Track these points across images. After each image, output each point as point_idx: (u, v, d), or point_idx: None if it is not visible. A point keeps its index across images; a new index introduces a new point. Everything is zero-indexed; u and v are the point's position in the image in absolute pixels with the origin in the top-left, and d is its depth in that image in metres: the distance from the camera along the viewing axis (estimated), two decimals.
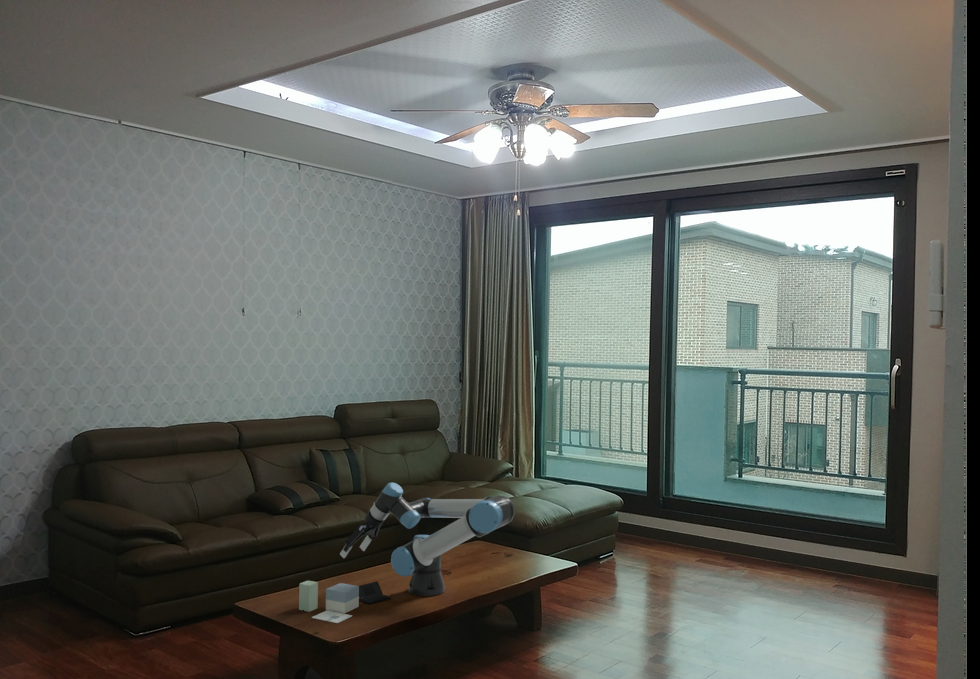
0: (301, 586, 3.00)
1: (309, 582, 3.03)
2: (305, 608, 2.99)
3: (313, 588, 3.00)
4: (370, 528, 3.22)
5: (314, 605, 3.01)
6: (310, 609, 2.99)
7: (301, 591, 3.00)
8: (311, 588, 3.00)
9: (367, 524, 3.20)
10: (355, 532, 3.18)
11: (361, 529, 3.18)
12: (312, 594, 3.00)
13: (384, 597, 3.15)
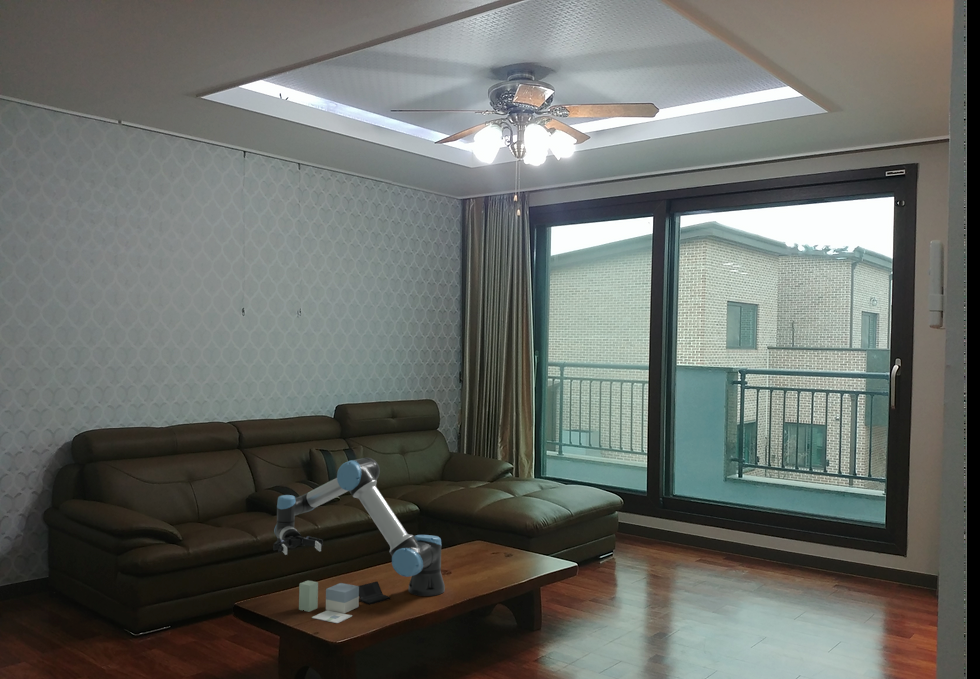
0: (301, 586, 3.00)
1: (309, 582, 3.03)
2: (305, 608, 2.99)
3: (313, 588, 3.00)
4: None
5: (314, 605, 3.01)
6: (310, 609, 2.99)
7: (301, 591, 3.00)
8: (311, 588, 3.00)
9: (284, 539, 3.24)
10: None
11: None
12: (312, 594, 3.00)
13: (384, 597, 3.15)
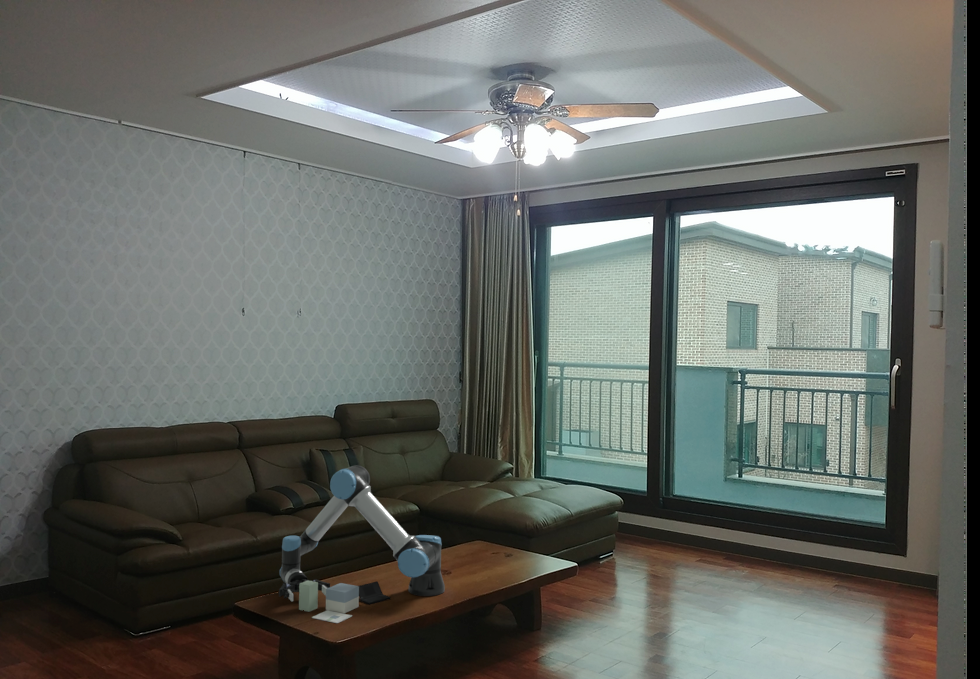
0: (301, 586, 3.00)
1: (309, 582, 3.03)
2: (305, 608, 2.99)
3: (312, 588, 3.00)
4: None
5: (314, 605, 3.01)
6: (310, 609, 2.99)
7: (301, 591, 3.00)
8: (311, 588, 3.00)
9: (289, 583, 3.13)
10: None
11: (283, 585, 3.10)
12: (312, 594, 3.00)
13: (384, 597, 3.15)
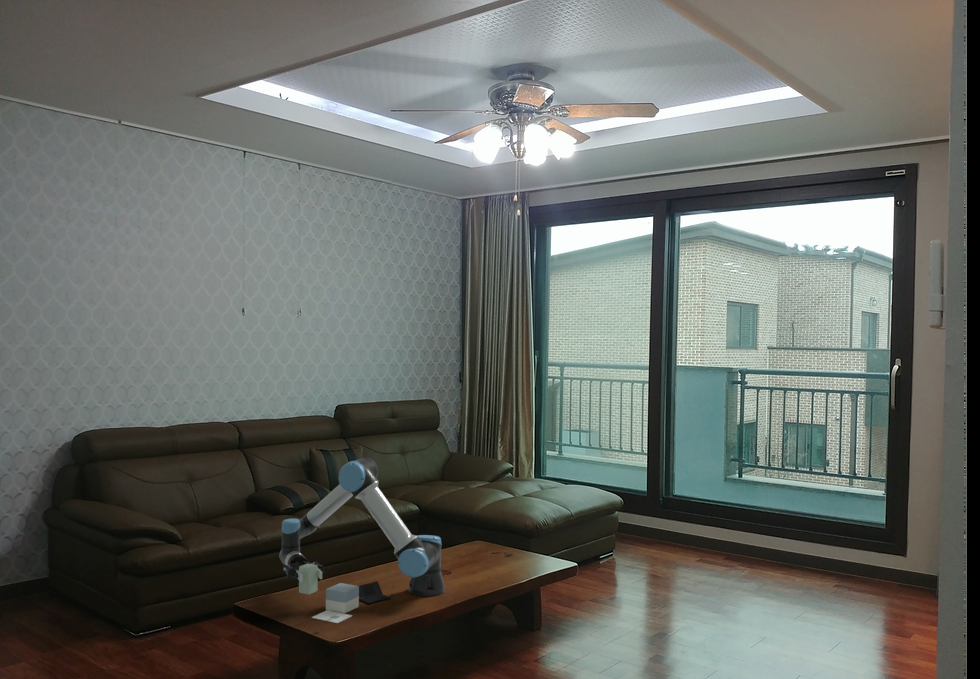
0: (301, 569, 3.00)
1: (309, 565, 3.03)
2: (305, 591, 2.99)
3: (312, 571, 3.00)
4: (296, 563, 3.12)
5: (314, 588, 3.01)
6: (310, 592, 2.99)
7: None
8: (311, 570, 3.00)
9: (288, 566, 3.12)
10: (286, 572, 3.06)
11: (284, 567, 3.09)
12: (311, 576, 3.00)
13: (384, 597, 3.15)
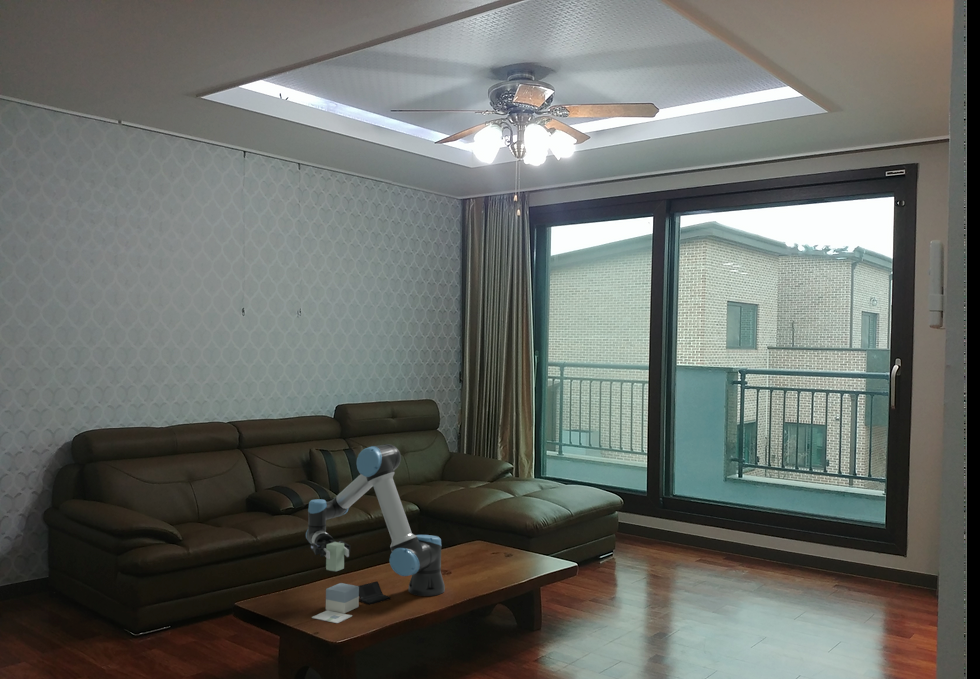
0: (328, 547, 3.09)
1: (336, 543, 3.12)
2: (332, 568, 3.08)
3: (339, 549, 3.10)
4: (323, 541, 3.21)
5: (341, 565, 3.10)
6: (337, 569, 3.08)
7: None
8: (338, 548, 3.09)
9: (315, 544, 3.21)
10: (313, 549, 3.16)
11: (311, 545, 3.18)
12: (338, 554, 3.09)
13: (384, 597, 3.15)
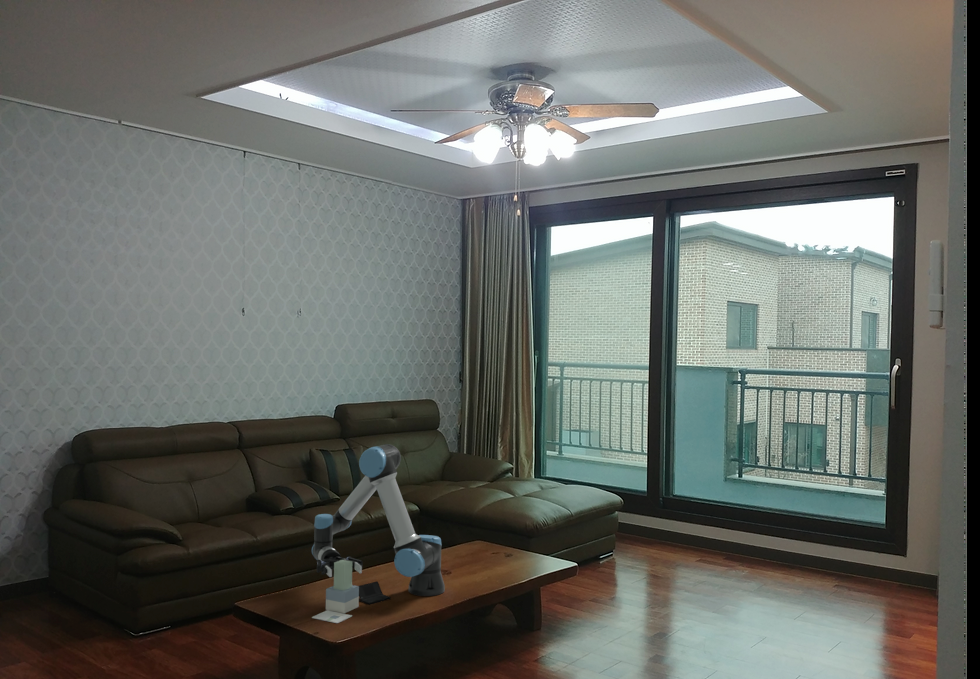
0: (336, 565, 3.01)
1: (343, 561, 3.04)
2: (340, 587, 3.00)
3: (347, 567, 3.02)
4: (330, 558, 3.13)
5: (349, 584, 3.02)
6: (345, 588, 3.00)
7: (335, 570, 3.02)
8: (346, 567, 3.01)
9: (323, 560, 3.14)
10: None
11: (317, 562, 3.11)
12: (346, 572, 3.01)
13: (384, 597, 3.15)
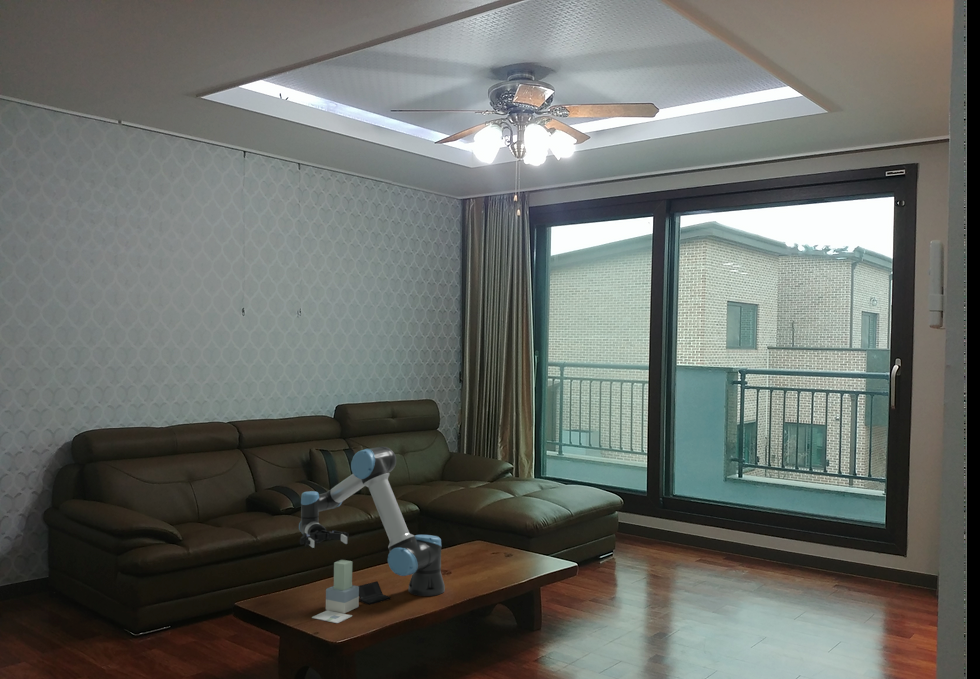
0: (336, 565, 3.01)
1: (343, 561, 3.04)
2: (340, 587, 3.00)
3: (347, 567, 3.02)
4: None
5: (349, 584, 3.02)
6: (345, 588, 3.00)
7: (335, 570, 3.02)
8: (346, 567, 3.01)
9: (309, 534, 3.27)
10: None
11: (303, 535, 3.24)
12: (346, 572, 3.01)
13: (384, 597, 3.15)
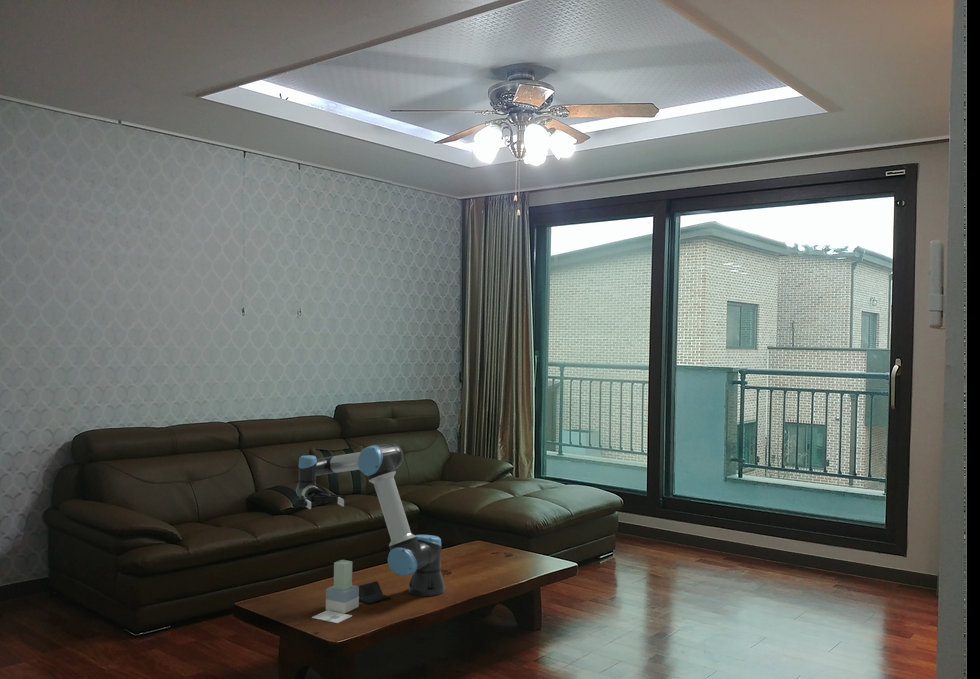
0: (336, 565, 3.01)
1: (343, 561, 3.04)
2: (340, 587, 3.00)
3: (347, 567, 3.02)
4: None
5: (349, 584, 3.02)
6: (345, 588, 3.00)
7: (335, 570, 3.02)
8: (346, 567, 3.01)
9: (306, 497, 3.29)
10: None
11: (300, 497, 3.26)
12: (346, 572, 3.01)
13: (384, 597, 3.15)
